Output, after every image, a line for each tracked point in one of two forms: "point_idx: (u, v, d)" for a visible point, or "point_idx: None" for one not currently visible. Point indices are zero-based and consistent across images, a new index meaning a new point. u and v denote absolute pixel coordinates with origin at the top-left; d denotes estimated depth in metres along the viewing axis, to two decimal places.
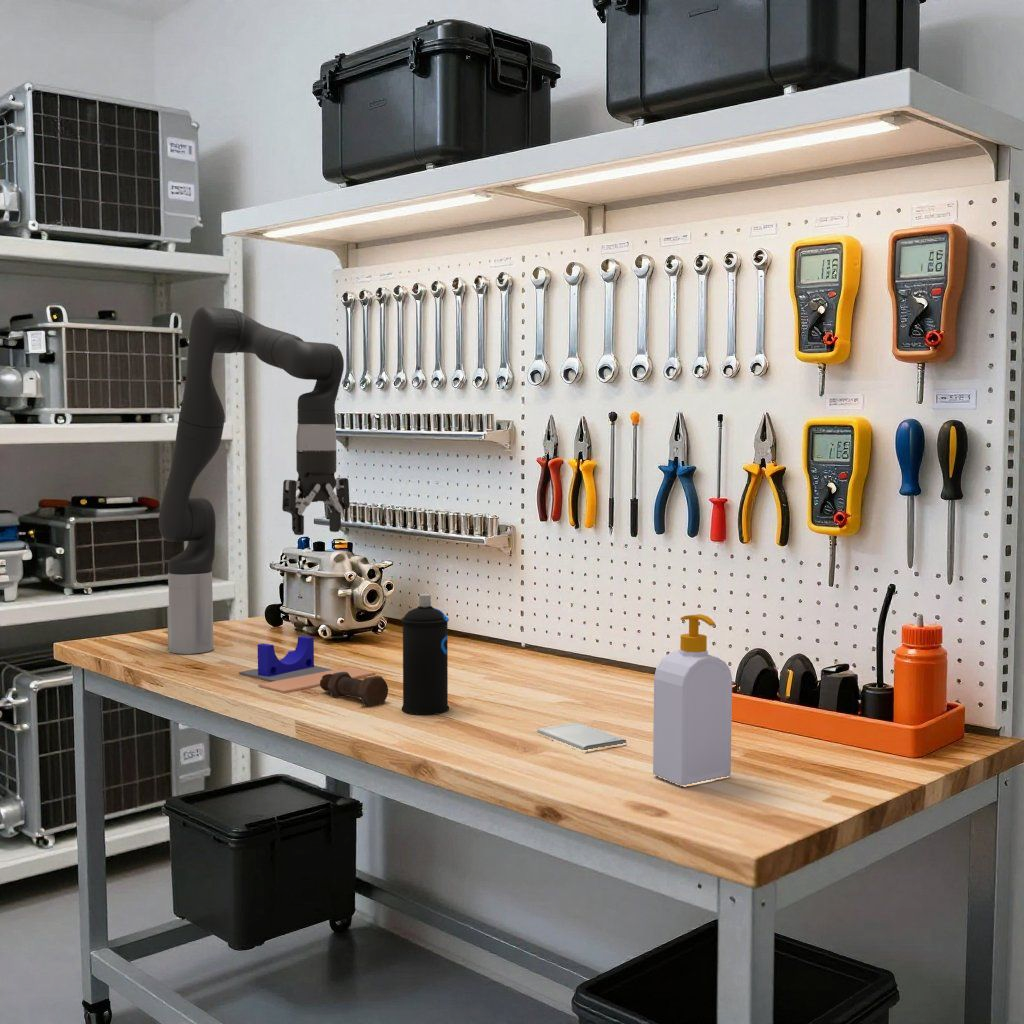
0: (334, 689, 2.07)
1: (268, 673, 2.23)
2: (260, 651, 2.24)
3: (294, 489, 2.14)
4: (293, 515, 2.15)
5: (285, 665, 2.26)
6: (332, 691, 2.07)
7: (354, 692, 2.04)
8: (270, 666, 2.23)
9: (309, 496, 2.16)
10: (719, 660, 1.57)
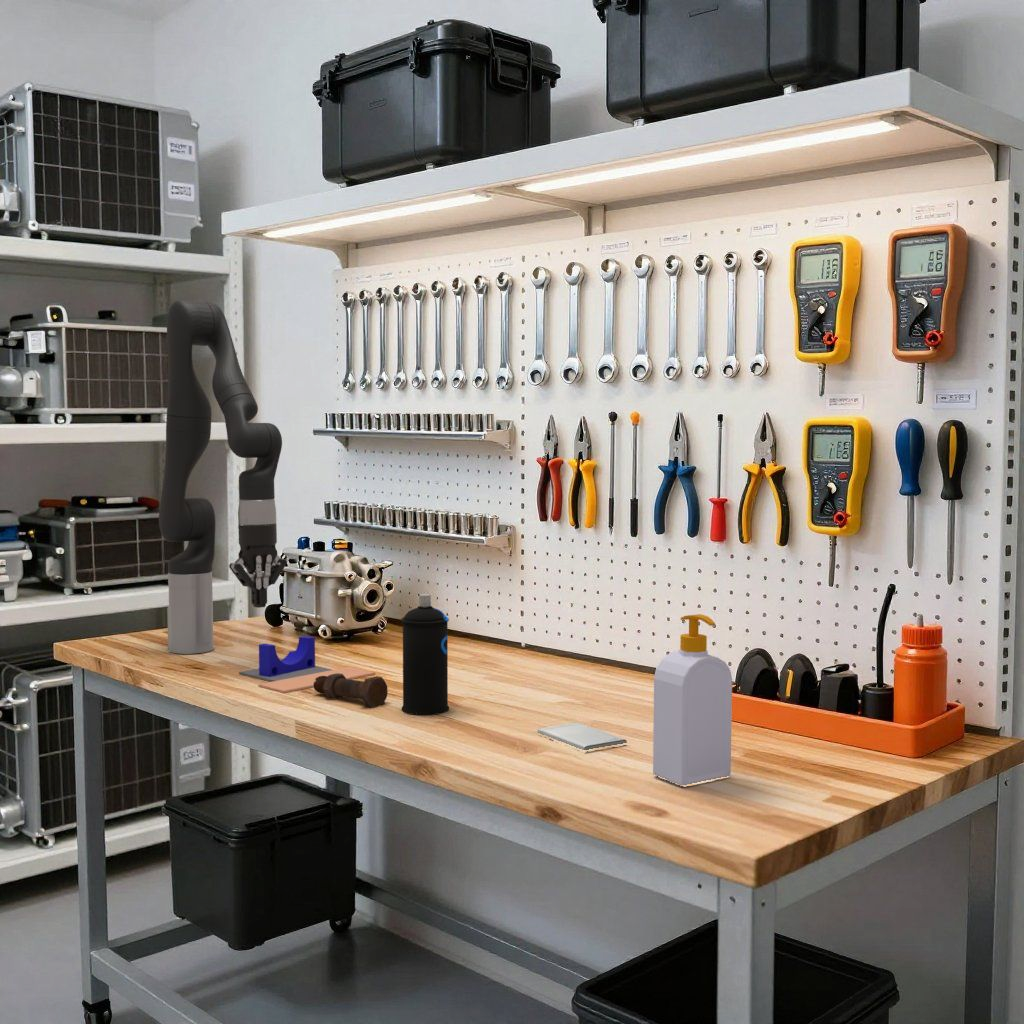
0: (331, 691, 2.05)
1: (269, 673, 2.23)
2: (261, 651, 2.23)
3: (242, 570, 2.28)
4: (252, 589, 2.32)
5: (286, 665, 2.26)
6: (328, 693, 2.06)
7: (353, 693, 2.03)
8: (271, 666, 2.23)
9: (257, 570, 2.30)
10: (719, 660, 1.57)
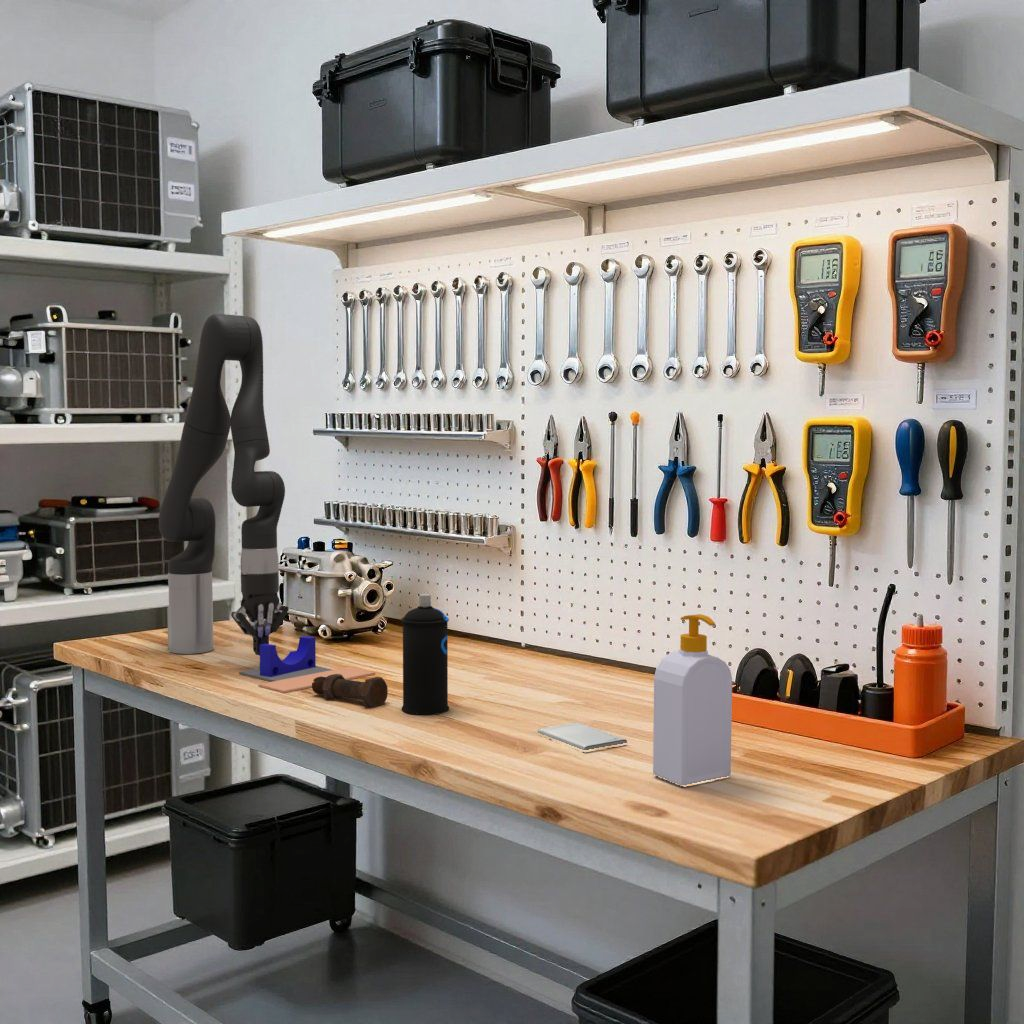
0: (330, 691, 2.05)
1: (270, 673, 2.22)
2: (262, 651, 2.23)
3: (244, 619, 2.29)
4: (254, 637, 2.32)
5: (287, 665, 2.26)
6: (327, 694, 2.05)
7: (353, 694, 2.02)
8: (272, 666, 2.23)
9: (259, 619, 2.31)
10: (719, 660, 1.57)
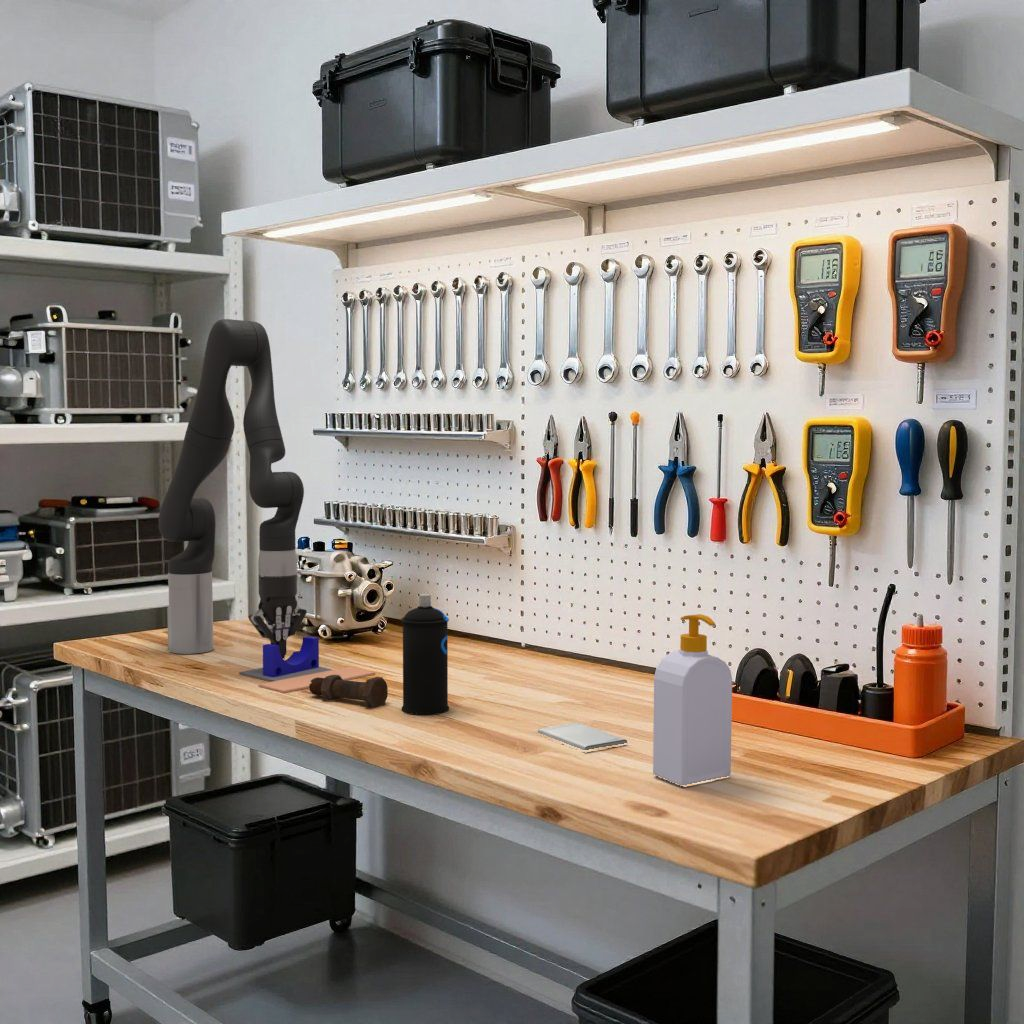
0: (329, 692, 2.04)
1: (273, 674, 2.22)
2: (265, 651, 2.23)
3: (262, 622, 2.25)
4: (271, 641, 2.28)
5: (290, 666, 2.25)
6: (326, 694, 2.04)
7: (353, 694, 2.02)
8: (275, 667, 2.22)
9: (277, 622, 2.27)
10: (719, 660, 1.57)
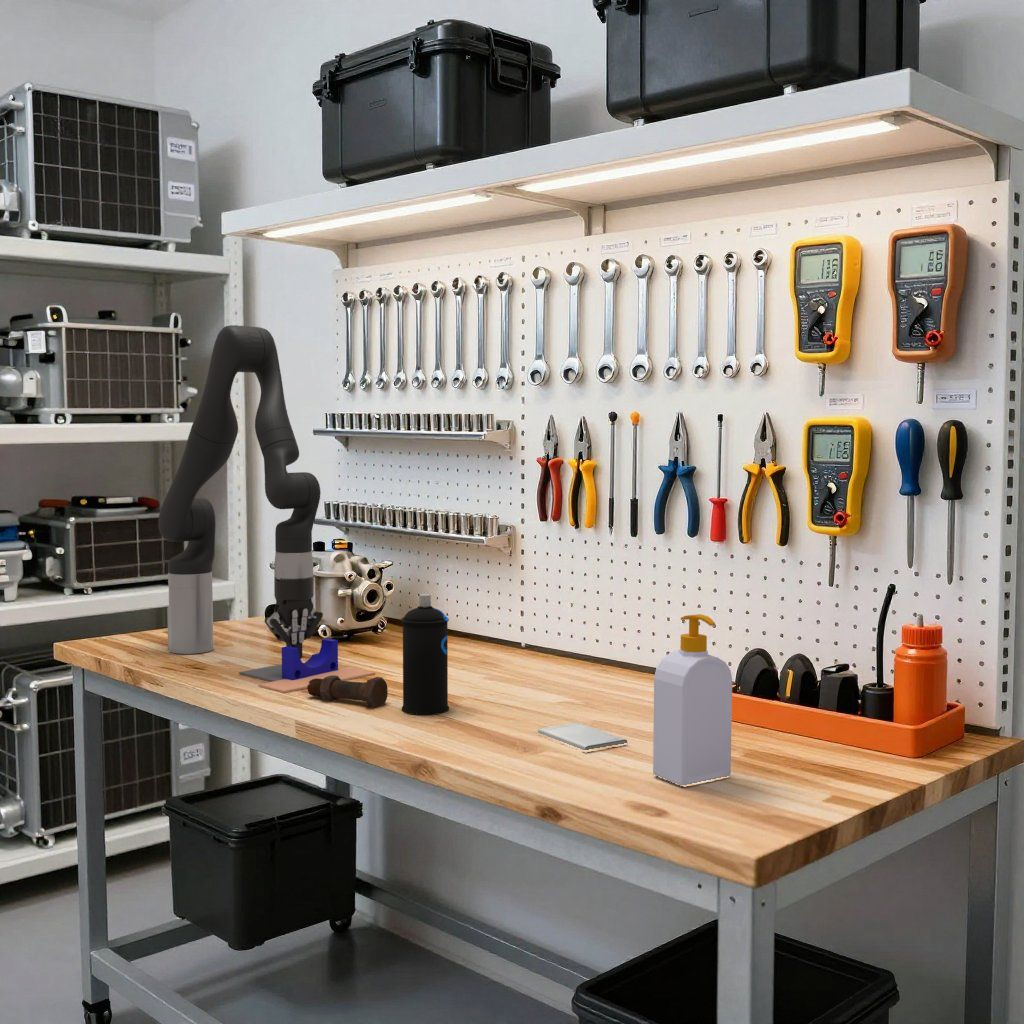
0: (328, 693, 2.04)
1: (292, 676, 2.20)
2: (284, 654, 2.20)
3: (278, 625, 2.21)
4: (287, 644, 2.25)
5: (309, 668, 2.23)
6: (325, 695, 2.04)
7: (353, 695, 2.02)
8: (294, 669, 2.20)
9: (293, 625, 2.23)
10: (719, 660, 1.57)
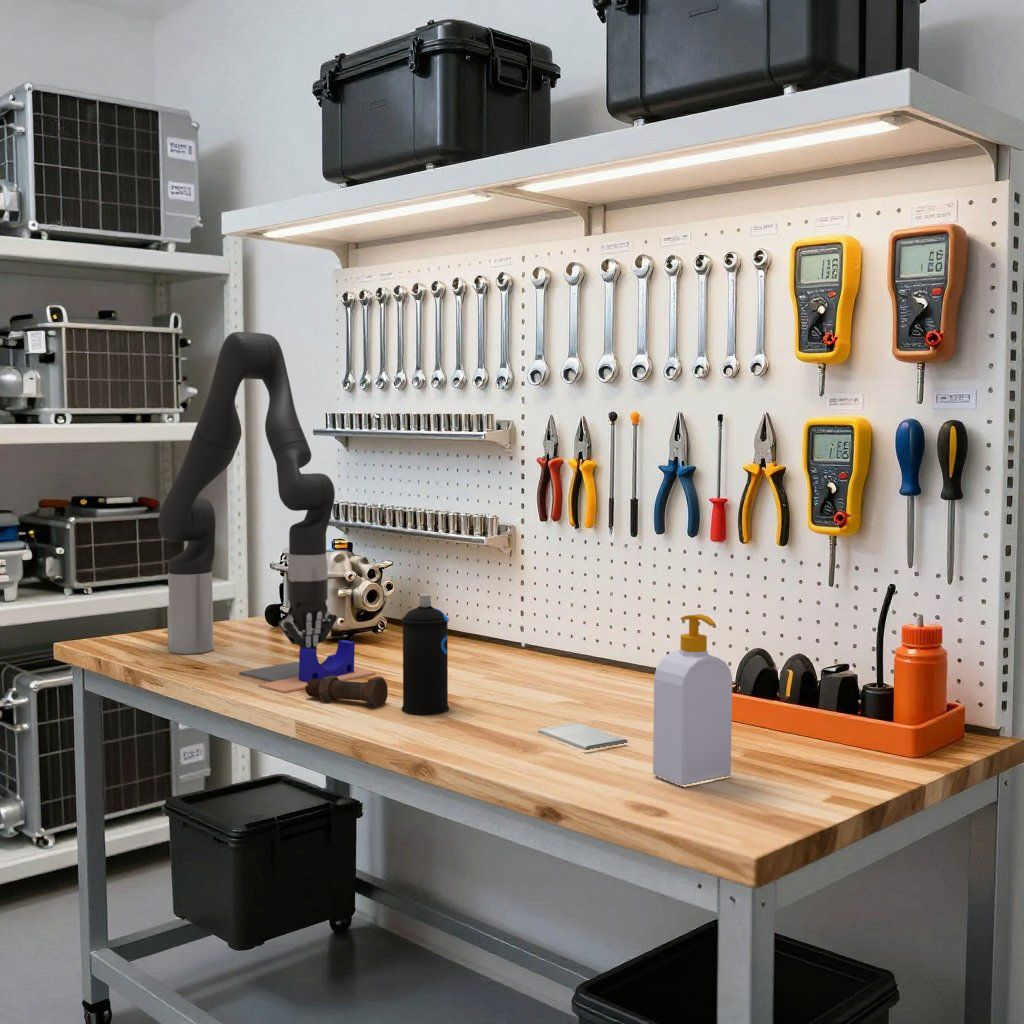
0: (327, 694, 2.03)
1: (310, 679, 2.17)
2: (302, 656, 2.18)
3: (292, 628, 2.18)
4: (301, 647, 2.22)
5: (326, 671, 2.21)
6: (324, 696, 2.03)
7: (354, 695, 2.01)
8: (312, 672, 2.18)
9: (307, 628, 2.20)
10: (719, 660, 1.57)
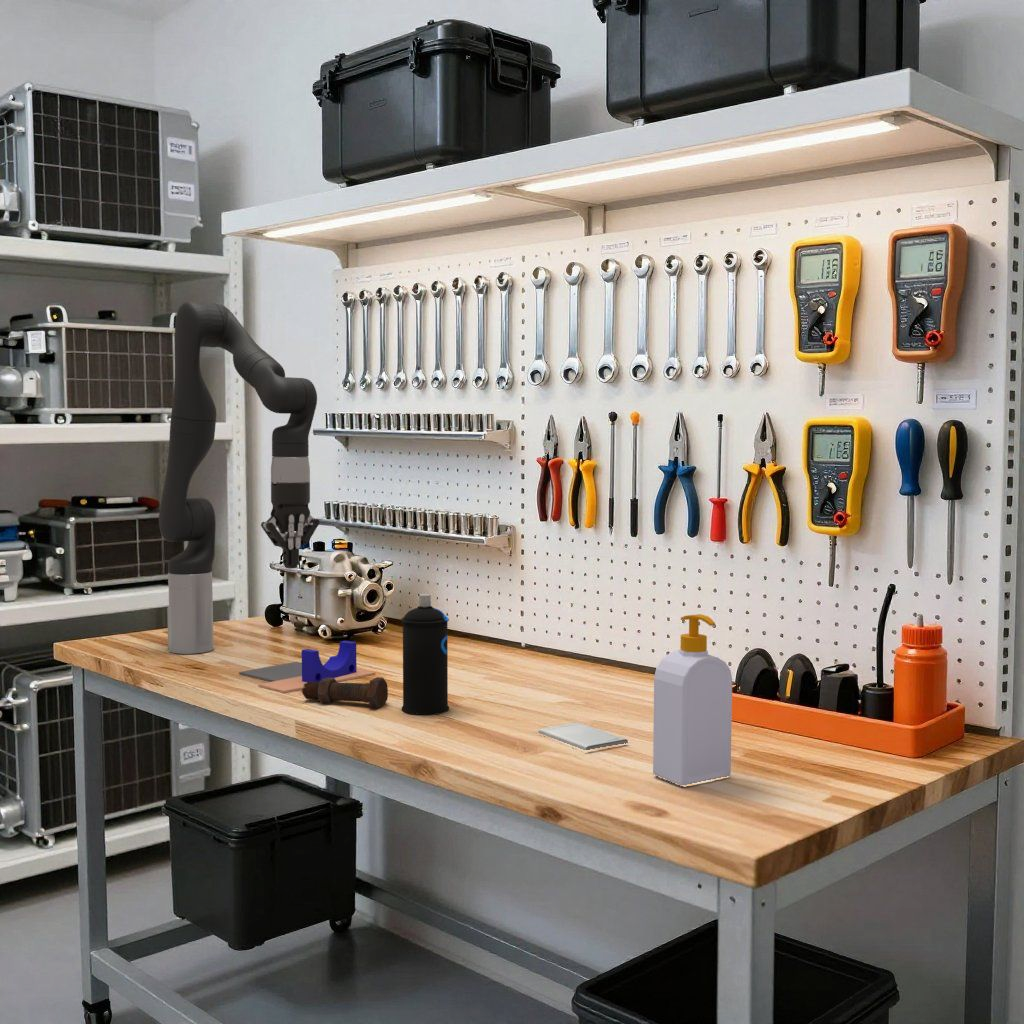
0: (327, 695, 2.02)
1: (313, 679, 2.17)
2: (304, 657, 2.18)
3: (274, 529, 2.21)
4: (284, 549, 2.25)
5: (329, 671, 2.21)
6: (323, 698, 2.02)
7: (355, 696, 2.00)
8: (315, 672, 2.17)
9: (289, 530, 2.23)
10: (719, 660, 1.57)
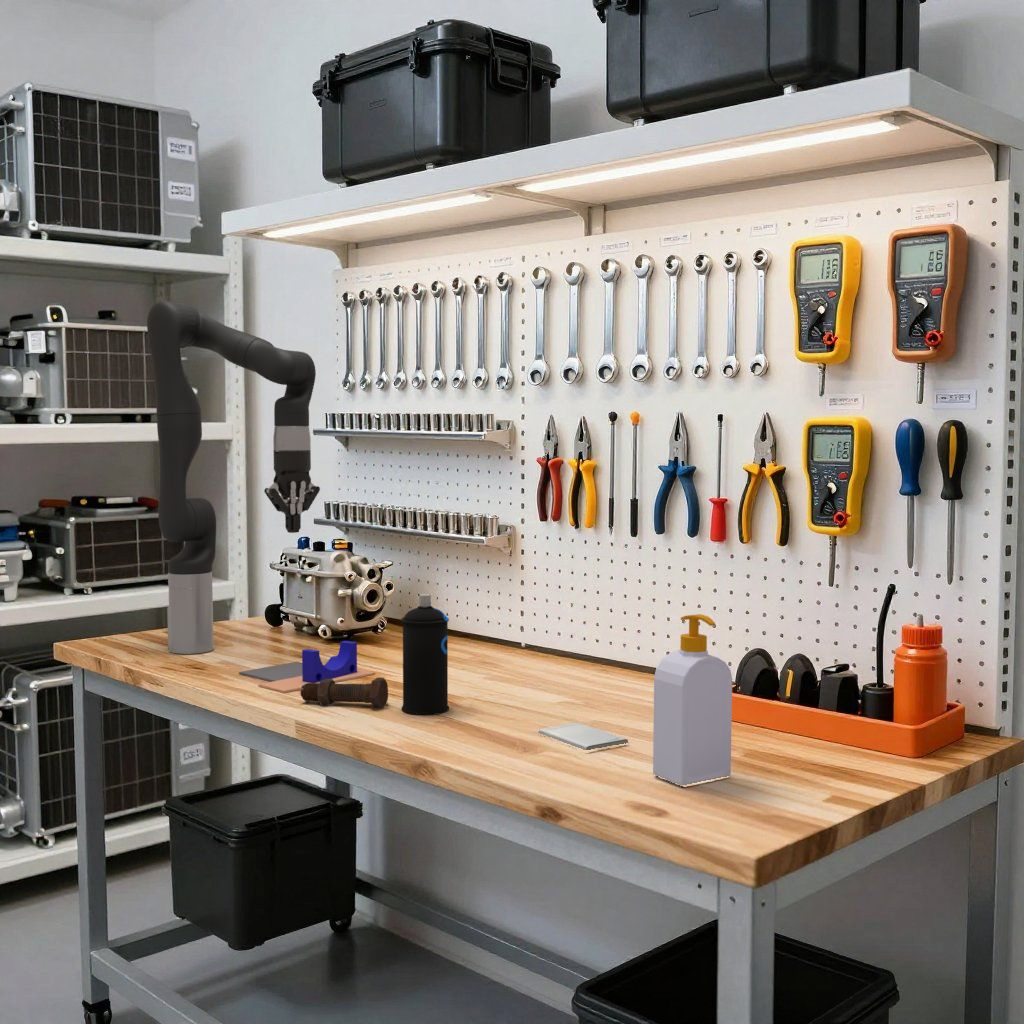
0: (327, 697, 2.00)
1: (314, 679, 2.17)
2: (305, 657, 2.18)
3: (277, 494, 2.33)
4: (286, 514, 2.36)
5: (330, 671, 2.21)
6: (323, 699, 2.01)
7: (356, 697, 2.00)
8: (316, 672, 2.17)
9: (292, 496, 2.35)
10: (719, 660, 1.57)
